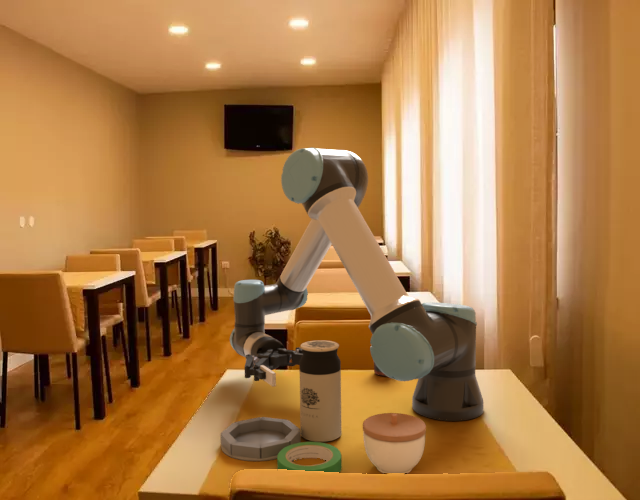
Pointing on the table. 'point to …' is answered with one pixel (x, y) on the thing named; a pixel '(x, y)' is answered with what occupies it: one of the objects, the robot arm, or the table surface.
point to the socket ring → (258, 438)
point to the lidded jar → (394, 441)
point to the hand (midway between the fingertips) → (304, 374)
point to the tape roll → (310, 451)
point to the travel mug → (320, 391)
